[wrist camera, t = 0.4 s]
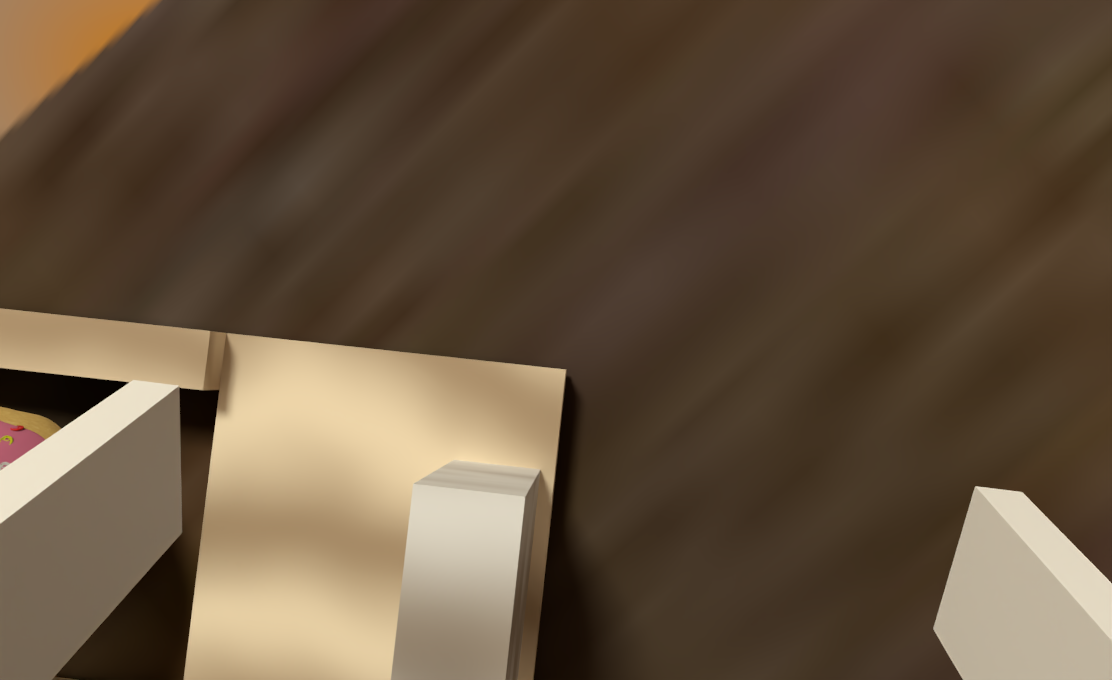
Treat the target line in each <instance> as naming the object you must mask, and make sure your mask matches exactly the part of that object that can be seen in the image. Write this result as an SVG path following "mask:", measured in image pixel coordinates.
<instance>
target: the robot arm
mask: <svg viewBox="0 0 1112 680" xmlns="http://www.w3.org/2000/svg"><path fill="white" fill-rule="evenodd" d="M181 533H182V501H181V448H180V395H179V386H178V385H170V384H162V383H154V382H147V381H139V380H132V381H131V382H129V383H128V384H126V385H125V386H124V387H122V388H121V389H119V390H118V391H116V392H115V393H113V394H112V395H110V396H109V397H107V398H106V399H105V400H103V401H102V402H100V403H99V404H97V405H96V406H94V407H93V408H91V409H90V410H88V411H87V412H85V413H84V414H83V415H81V416H80V417H78V418H77V419H75V420H74V421H72V422H71V423H69V424H68V425H66V426H65V427H63V428H62V429H61V430H59V431H58V432H56V433H55V434H53V435H52V436H50V437H49V438H47V439H46V440H44V441H43V442H42V443H40V444H39V445H37V446H36V447H34V448H33V449H31V450H30V451H28V452H27V453H25V454H24V455H22V456H21V457H20V458H18V459H17V460H15V461H14V462H12V463H11V464H9V465H8V466H6V467H5V468H3V469H2V470H1V471H0V680H52V679H53V678H54V677H55V675H56V674H57V673H58V672H59V671H60V670H61V669H62V668H63V666H64V665H65V664H66V663H67V662H68V661H69V660H70V659H71V657H72V656H73V655H74V654H75V653H76V652H77V651H78V650H79V648H80V647H81V646H82V645H83V644H84V643H85V642H86V641H87V639H88V638H89V637H90V636H91V635H92V634H93V633H94V631H95V630H96V629H97V628H98V627H99V626H100V625H101V624H102V622H103V621H104V620H105V619H106V618H107V617H108V616H109V615H110V613H111V612H112V611H113V610H114V609H115V608H116V607H117V606H118V604H119V603H120V602H121V601H122V600H123V599H124V598H125V597H126V595H127V594H128V593H129V592H130V591H131V590H132V589H133V587H134V586H135V585H136V584H137V583H138V582H139V581H140V580H141V578H142V577H143V576H144V575H145V574H146V573H147V572H148V571H149V569H150V568H151V567H152V566H153V565H154V564H155V563H156V562H157V560H158V559H159V558H160V557H161V556H162V555H163V554H164V553H165V551H166V550H167V549H168V548H169V547H170V546H171V545H172V543H173V542H174V541H175V540H176V539H177V538H178V537H179V536H180V534H181ZM933 629H934V631H935V633H936V635H937V636H938V638H939V640H940V641H941V643H942V645H943V646H944V648H945V650H946V652H947V653H948V655H949V657H950V658H951V660H952V662H953V663H954V665H955V667H956V669H957V670H958V672H959V674H960V675H961V677H962V679H963V680H1112V583H1111V582H1110V581H1109V580H1108V579H1107V578H1106V577H1105V576H1104V575H1103V574H1102V573H1101V572H1100V571H1099V570H1098V569H1097V568H1096V567H1095V566H1094V565H1093V564H1092V563H1091V562H1090V561H1089V560H1088V559H1087V558H1086V557H1085V556H1084V555H1083V554H1082V553H1081V552H1080V551H1079V550H1078V549H1077V548H1076V547H1075V546H1074V545H1073V544H1072V543H1071V542H1070V541H1069V540H1068V538H1067V537H1066V536H1065V535H1064V534H1063V533H1062V532H1061V531H1060V530H1059V529H1058V528H1057V527H1056V526H1055V525H1054V524H1053V523H1052V522H1051V521H1050V520H1049V519H1048V518H1047V517H1046V516H1045V515H1044V514H1043V513H1042V512H1041V511H1040V510H1039V509H1038V508H1037V507H1036V506H1035V505H1034V504H1033V503H1032V502H1031V501H1030V500H1029V499H1028V498H1027V497H1026V496H1025V495H1024V494H1023V493H1022V492H1016V491H1009V490H1001V489H993V488H985V487H977V486H975V489H974V492H973V496H972V499H971V502H970V506H969V509H968V512H967V516H966V519H965V523H964V526H963V529H962V533H961V536H960V540H959V543H958V546H957V550H956V553H955V557H954V560H953V563H952V567H951V570H950V574H949V577H948V580H947V584H946V587H945V591H944V594H943V597H942V601H941V604H940V608H939V611H938V614H937V618H936V621H935V624H934V628H933Z"/></svg>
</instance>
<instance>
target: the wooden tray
mask: <svg viewBox="0 0 1112 680" xmlns="http://www.w3.org/2000/svg"><path fill="white" fill-rule="evenodd" d="M0 368H6V369H15V370H24V371H33V372H42V373H51V374H60V375H69V376H78V377H87V378H96V379H105V380H114V381H123V382H131V381H132V380H139V381H147V382H154V383H162V384H170V385H178V386H179V388H187V389H196V390H219V397H218V405H217V413H216V422H215V430H214V438H213V446H212V454H211V462H210V470H209V478H208V486H207V494H206V502H205V511H204V519H203V527H202V535H201V543H200V551H199V559H198V567H197V575H196V583H195V592H194V600H193V608H192V616H191V624H190V632H189V640H188V648H187V656H186V664H185V673H184V680H534V671H535V662H536V653H537V643H538V634H539V625H540V616H541V606H542V597H543V588H544V578H545V569H546V560H547V550H548V541H549V532H550V522H551V513H552V504H553V494H554V485H555V476H556V466H557V457H558V448H559V438H560V429H561V420H562V410H563V401H564V392H565V382H566V373H567V370H564V369H555V368H546V367H536V366H527V365H518V364H508V363H499V362H490V361H480V360H471V359H462V358H453V357H443V356H434V355H425V354H415V353H406V352H397V351H387V350H378V349H369V348H360V347H350V346H341V345H332V344H322V343H313V342H304V341H294V340H285V339H276V338H267V337H257V336H248V335H239V334H229V333H221V332H213V331H204V330H195V329H186V328H177V327H167V326H158V325H149V324H139V323H130V322H121V321H111V320H102V319H93V318H84V317H74V316H65V315H56V314H46V313H37V312H28V311H18V310H9V309H0ZM52 680H77V679H69V678H61V677H54V678H53V679H52Z"/></svg>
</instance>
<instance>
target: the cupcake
mask: <svg viewBox="0 0 1112 680" xmlns="http://www.w3.org/2000/svg"><path fill="white" fill-rule="evenodd" d="M59 430H61V428H60V427H59V426H58V425H57V424H56V423H54V422H53V421H51V420H49V419H48V418H45V417H43V416H40V415H36V414H32V413H26V412H21V411H17V410H13V409H9V408H4V407H0V471H1V470H2V469H3V468H5V467H6V466H8V465H9V464H11V463H12V462H14V461H15V460H17V459H18V458H20V457H21V456H22V455H24V454H25V453H27V452H28V451H30V450H31V449H33V448H34V447H36V446H37V445H39V444H40V443H42V442H43V441H44V440H46V439H47V438H49V437H50V436H52V435H53V434H55V433H56V432H58V431H59Z"/></svg>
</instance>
